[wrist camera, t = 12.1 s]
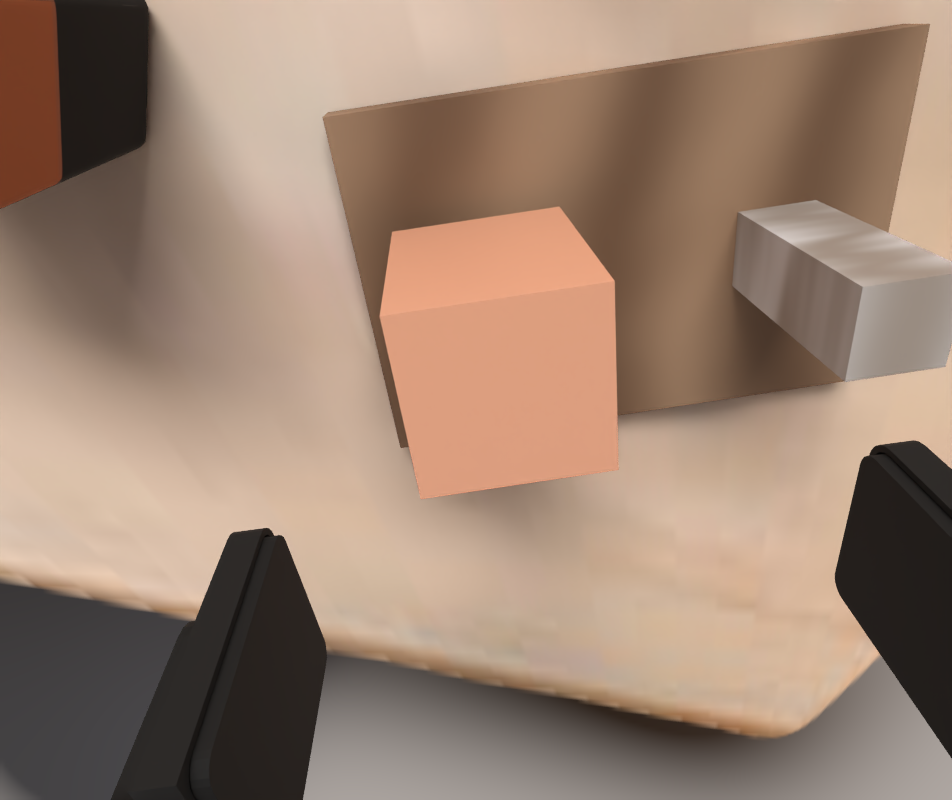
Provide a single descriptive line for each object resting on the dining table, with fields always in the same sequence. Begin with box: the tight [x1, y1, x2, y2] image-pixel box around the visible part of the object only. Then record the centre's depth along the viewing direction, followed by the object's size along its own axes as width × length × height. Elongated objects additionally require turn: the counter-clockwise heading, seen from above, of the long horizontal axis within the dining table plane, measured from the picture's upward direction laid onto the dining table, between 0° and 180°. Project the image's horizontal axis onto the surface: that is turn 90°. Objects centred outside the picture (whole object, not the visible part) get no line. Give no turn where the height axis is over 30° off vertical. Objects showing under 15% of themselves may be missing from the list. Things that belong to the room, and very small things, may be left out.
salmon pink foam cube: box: [380, 207, 618, 499], centre depth 18 cm, size 5×5×7 cm
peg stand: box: [323, 24, 952, 448], centre depth 19 cm, size 18×12×8 cm, turn 98°
